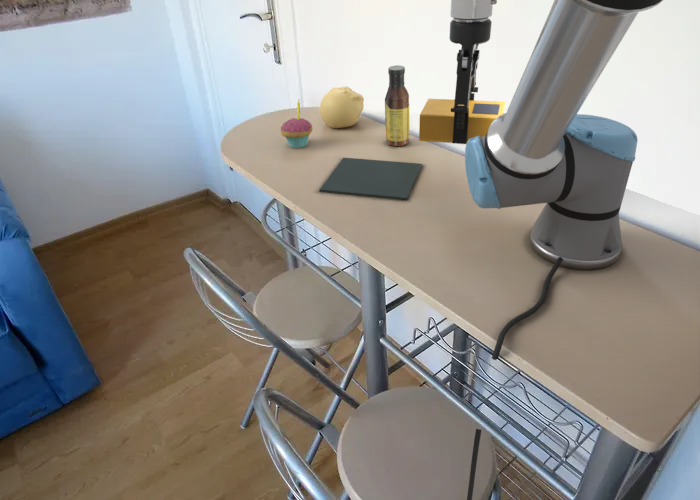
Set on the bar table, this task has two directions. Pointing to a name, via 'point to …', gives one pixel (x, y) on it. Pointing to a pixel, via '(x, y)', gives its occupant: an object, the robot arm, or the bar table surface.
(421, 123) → the yellow box with panel
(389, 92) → the sauce bottle
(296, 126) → the cupcake
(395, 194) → the desk mat
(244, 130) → the bar table surface
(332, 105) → the sculpture
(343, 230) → the bar table surface
